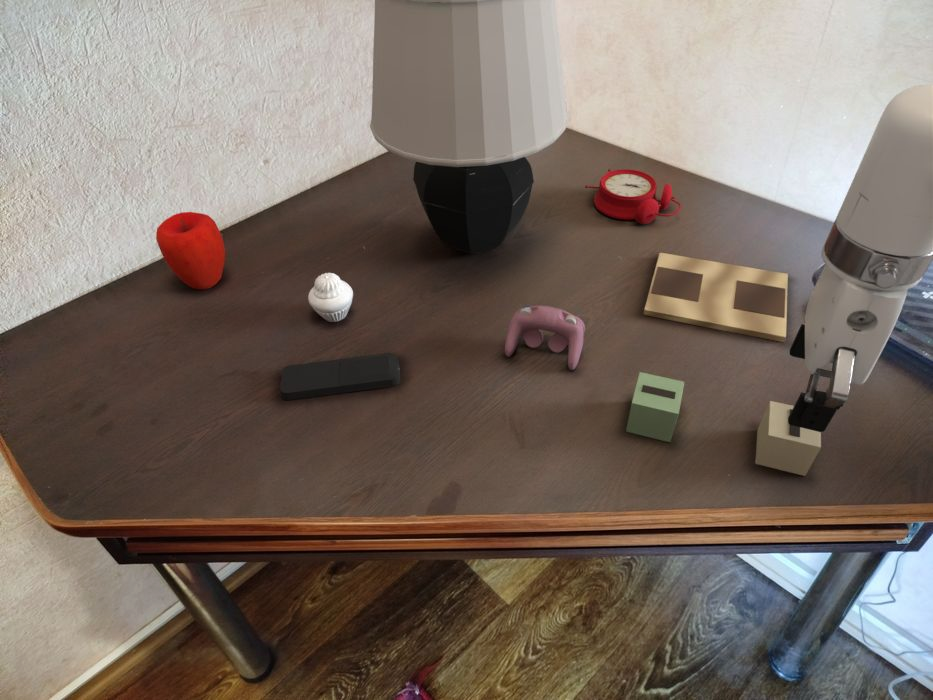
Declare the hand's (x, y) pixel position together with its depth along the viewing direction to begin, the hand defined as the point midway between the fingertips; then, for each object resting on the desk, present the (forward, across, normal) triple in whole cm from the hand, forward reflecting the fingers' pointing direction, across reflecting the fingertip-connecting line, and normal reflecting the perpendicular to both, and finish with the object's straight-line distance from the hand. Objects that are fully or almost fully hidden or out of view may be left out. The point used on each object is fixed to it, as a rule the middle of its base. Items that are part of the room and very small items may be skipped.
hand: (805, 389), depth 64 cm
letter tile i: (+10, 0, +13) cm, 17 cm away
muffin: (+11, +5, +58) cm, 60 cm away
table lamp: (+11, +27, +45) cm, 54 cm away
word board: (+10, +25, +8) cm, 29 cm away
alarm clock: (+11, +45, +23) cm, 52 cm away
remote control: (+11, -6, +51) cm, 53 cm away
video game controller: (+11, +7, +28) cm, 31 cm away
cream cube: (+10, 0, -1) cm, 10 cm away
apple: (+12, +6, +81) cm, 82 cm away
